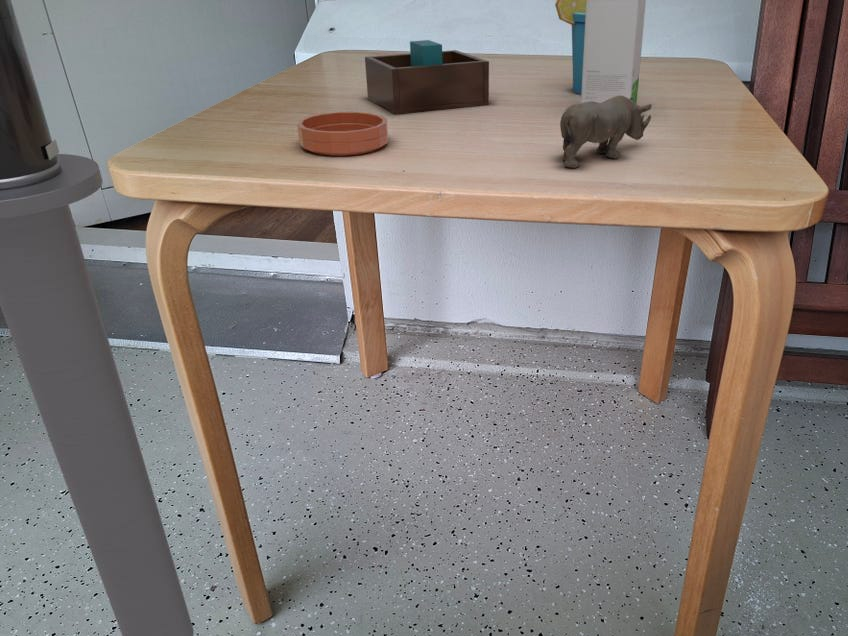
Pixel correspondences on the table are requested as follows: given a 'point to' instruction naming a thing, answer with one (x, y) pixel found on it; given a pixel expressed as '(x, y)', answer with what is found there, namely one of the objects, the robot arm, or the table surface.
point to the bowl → (343, 133)
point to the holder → (427, 82)
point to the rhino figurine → (601, 126)
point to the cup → (575, 35)
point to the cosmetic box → (612, 49)
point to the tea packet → (425, 53)
